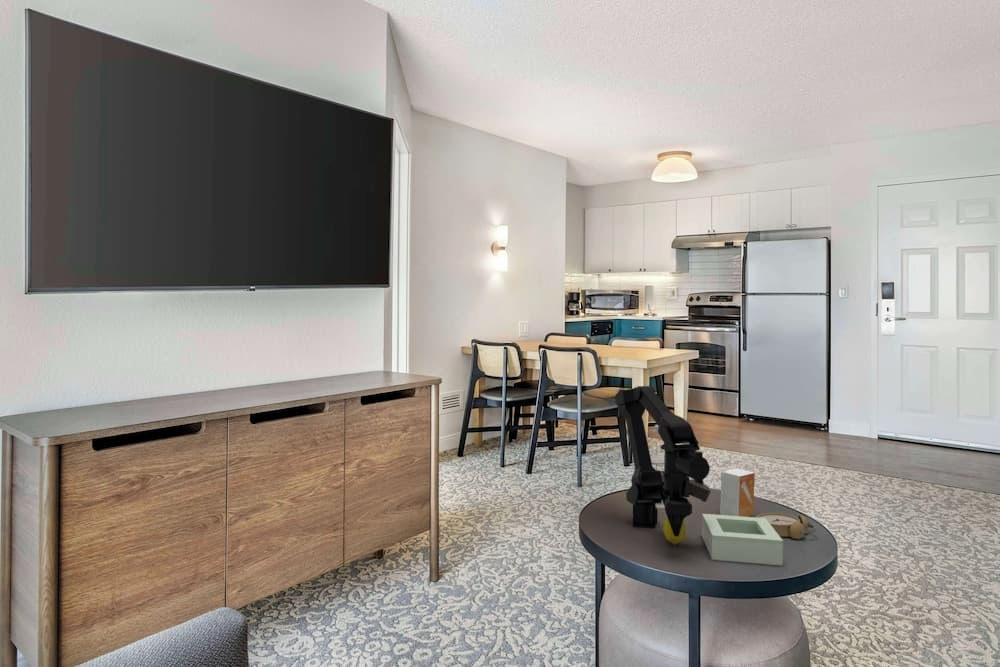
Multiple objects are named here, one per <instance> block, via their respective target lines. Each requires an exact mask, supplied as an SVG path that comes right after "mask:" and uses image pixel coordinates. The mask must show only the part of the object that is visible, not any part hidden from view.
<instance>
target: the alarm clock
mask: <svg viewBox="0 0 1000 667" xmlns="http://www.w3.org/2000/svg"><path fill="white" fill-rule="evenodd" d="M756 518H766V519H767V521H768V522H769V523H770V525H771V526H772V527H773V528H774V530H775V531H776V532H777V534H778V535H779V536H780V537H791V538H792V539H794V540H801V539H802V538H804V535H805V534H813V533H815V532H816V526H815V525H814V524H812V523H809V522H808V520H807V518H806V517H805V516H804V515H803V516H802V515H798V517H796V516H794V515H790V514H785V513H779V512H768V513H761V514H758V515H756ZM809 528H810V529H809Z"/></svg>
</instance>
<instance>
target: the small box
mask: <svg viewBox="0 0 1000 667" xmlns="http://www.w3.org/2000/svg"><path fill="white" fill-rule="evenodd" d="M720 474H721V475H720V503H719V504H720V505H719V506H720V509H719V515H728V516H742V517H753V516H754V511H755V510H754V507H755V505H754V503H755V502H754V501H755V472H752V471H749V470H745V469H741V468H738V467H735V468H732V469H727V470H724V471H721V472H720Z"/></svg>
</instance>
